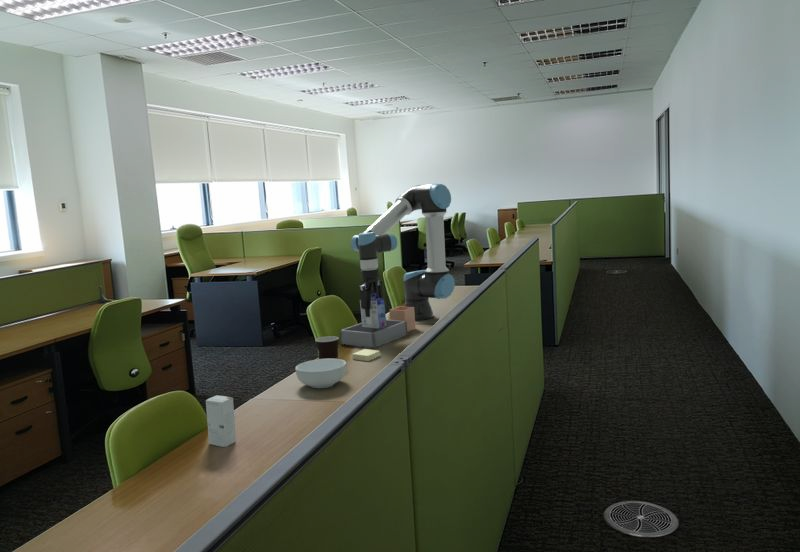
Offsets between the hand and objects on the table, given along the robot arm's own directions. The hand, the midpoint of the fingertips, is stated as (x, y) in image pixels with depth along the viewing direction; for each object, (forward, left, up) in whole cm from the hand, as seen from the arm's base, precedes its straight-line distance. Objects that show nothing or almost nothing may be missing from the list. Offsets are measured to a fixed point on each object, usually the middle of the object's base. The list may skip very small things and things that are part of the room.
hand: (374, 322), depth 267 cm
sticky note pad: (+25, +15, -8) cm, 31 cm away
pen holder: (-19, +2, -7) cm, 20 cm away
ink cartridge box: (0, 0, -2) cm, 2 cm away
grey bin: (0, 0, -7) cm, 7 cm away
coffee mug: (+38, +7, -8) cm, 39 cm away
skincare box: (+107, +31, -8) cm, 112 cm away
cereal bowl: (+58, +22, -8) cm, 63 cm away
